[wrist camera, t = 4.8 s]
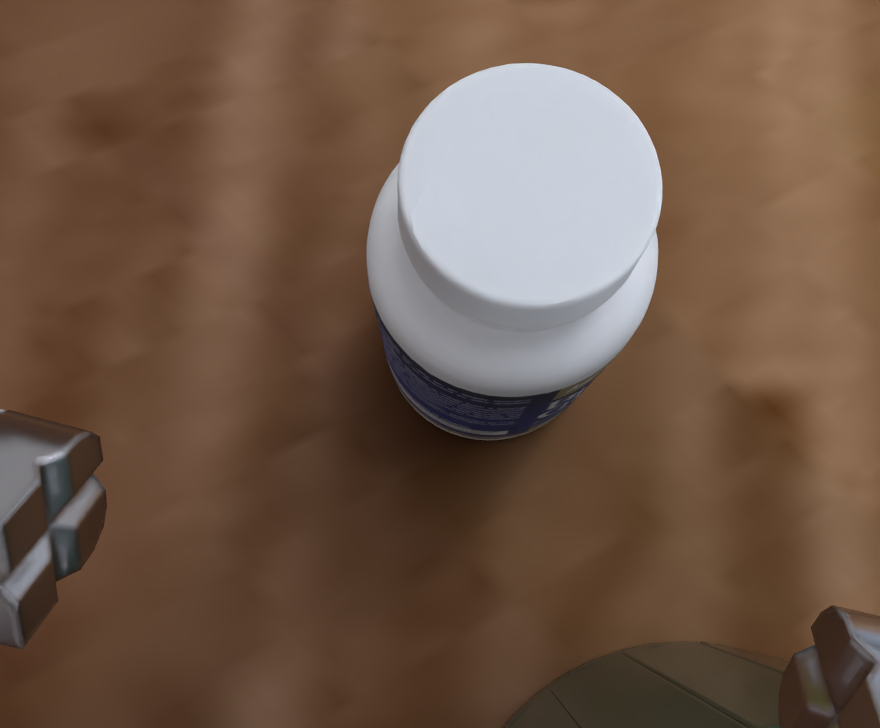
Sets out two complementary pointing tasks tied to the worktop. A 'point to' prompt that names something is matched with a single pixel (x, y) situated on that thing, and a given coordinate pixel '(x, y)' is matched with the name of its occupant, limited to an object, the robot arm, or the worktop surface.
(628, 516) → the worktop surface
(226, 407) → the worktop surface
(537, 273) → the pill bottle
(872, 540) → the worktop surface
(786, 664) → the crock
